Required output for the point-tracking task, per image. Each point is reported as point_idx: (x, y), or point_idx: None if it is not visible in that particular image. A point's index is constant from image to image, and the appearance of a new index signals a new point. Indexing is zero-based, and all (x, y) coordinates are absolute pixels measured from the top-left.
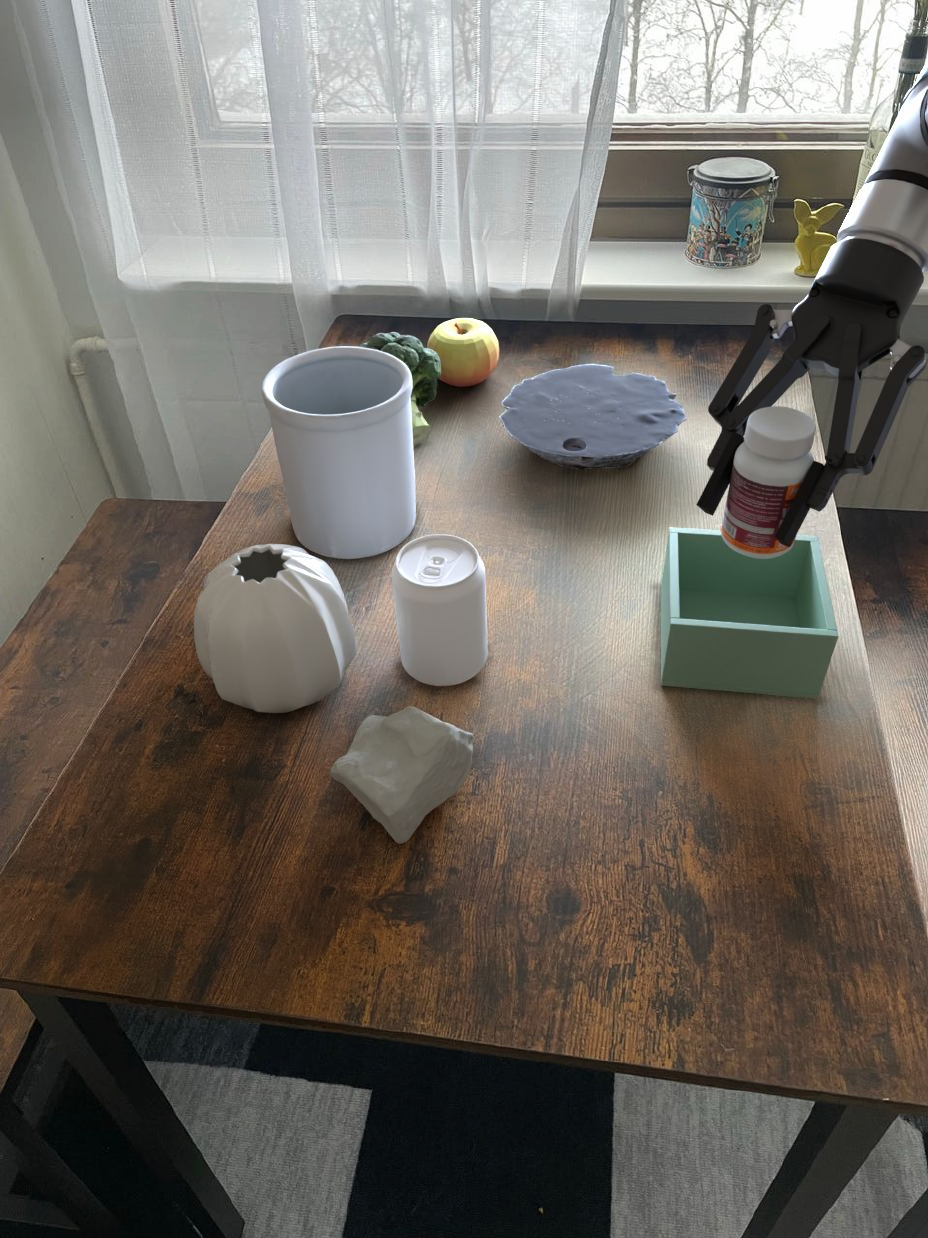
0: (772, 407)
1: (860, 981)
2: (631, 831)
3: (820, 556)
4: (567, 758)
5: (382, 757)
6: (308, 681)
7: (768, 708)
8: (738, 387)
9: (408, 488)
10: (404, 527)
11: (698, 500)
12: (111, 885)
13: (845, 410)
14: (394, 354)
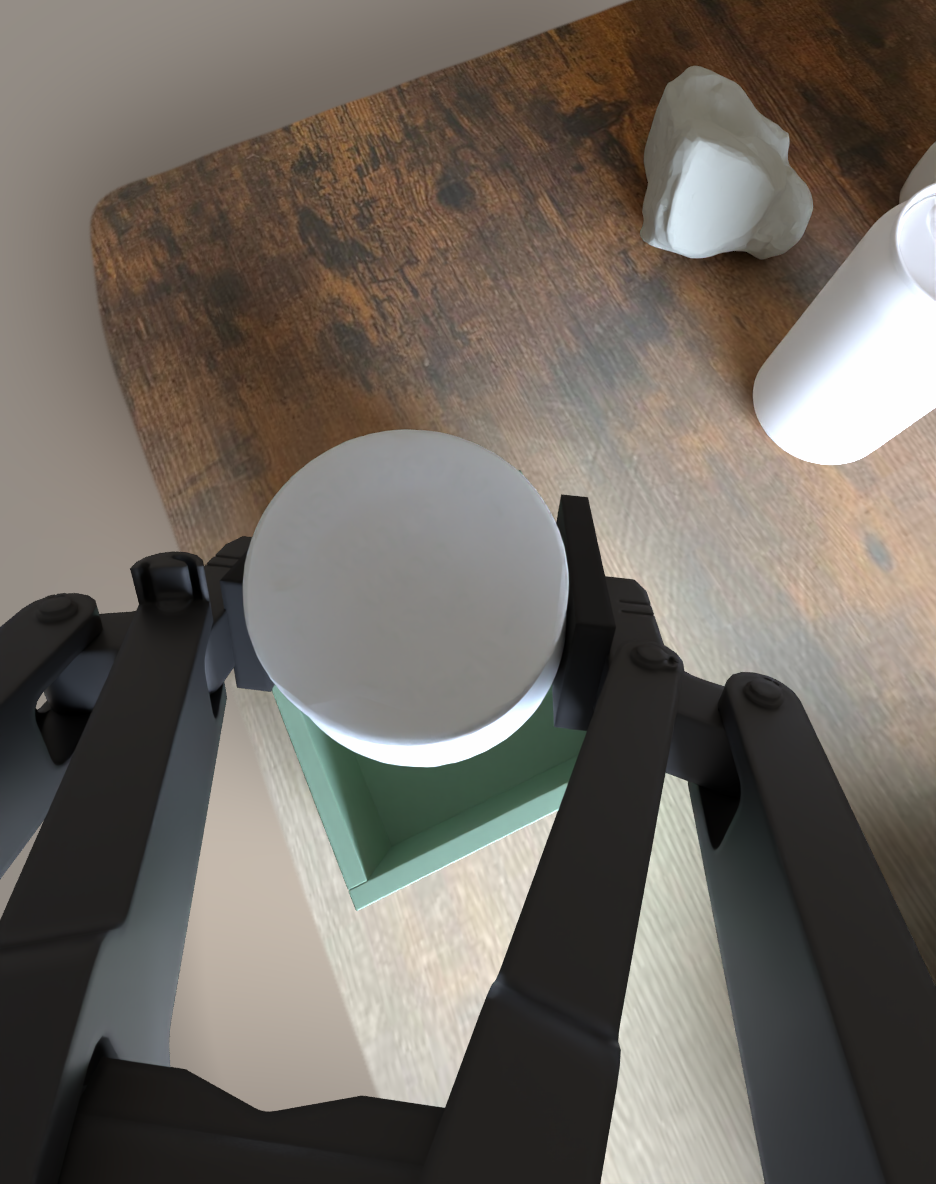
0: (498, 697)
1: (151, 267)
2: (432, 300)
3: (330, 832)
4: (555, 349)
5: (738, 114)
6: (928, 167)
7: None
8: (750, 825)
9: None
10: None
11: (588, 501)
12: (858, 2)
13: (98, 762)
14: None
